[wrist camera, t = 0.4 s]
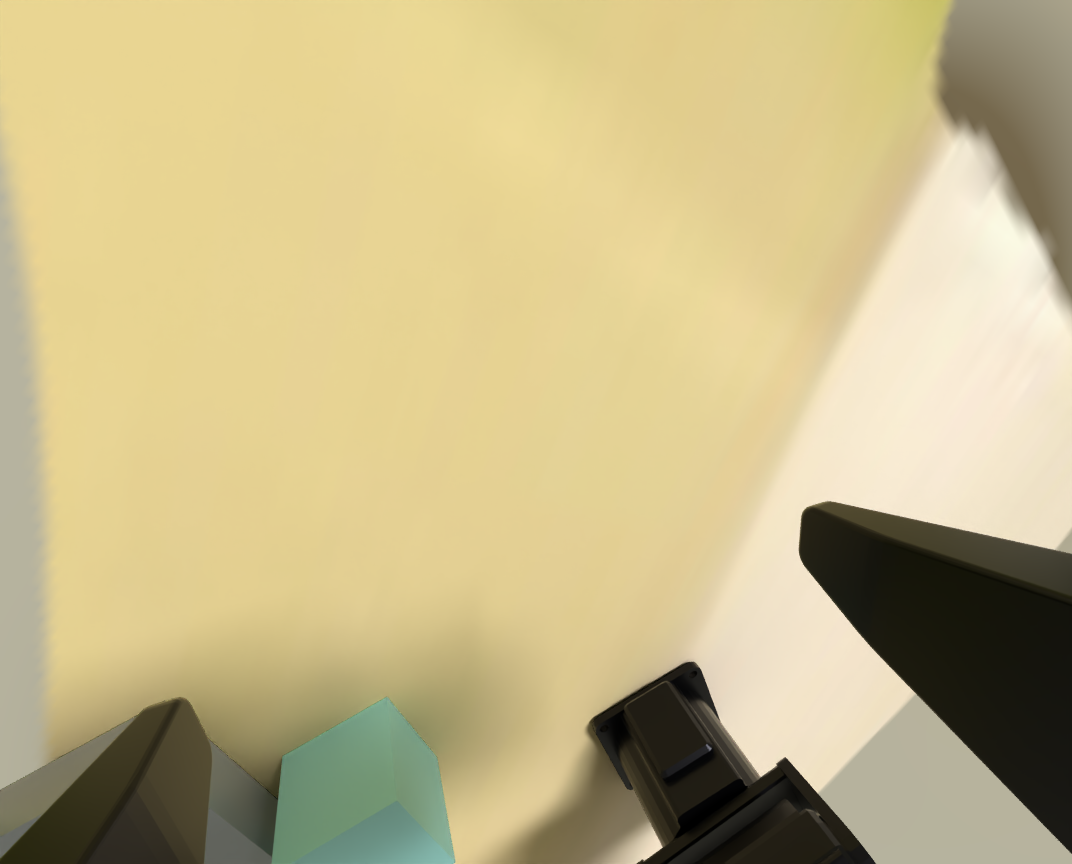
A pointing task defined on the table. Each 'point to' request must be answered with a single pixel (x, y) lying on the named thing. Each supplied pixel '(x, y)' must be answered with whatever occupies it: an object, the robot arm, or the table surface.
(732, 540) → the table surface
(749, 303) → the table surface
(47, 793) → the tile
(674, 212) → the table surface
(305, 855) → the cube
